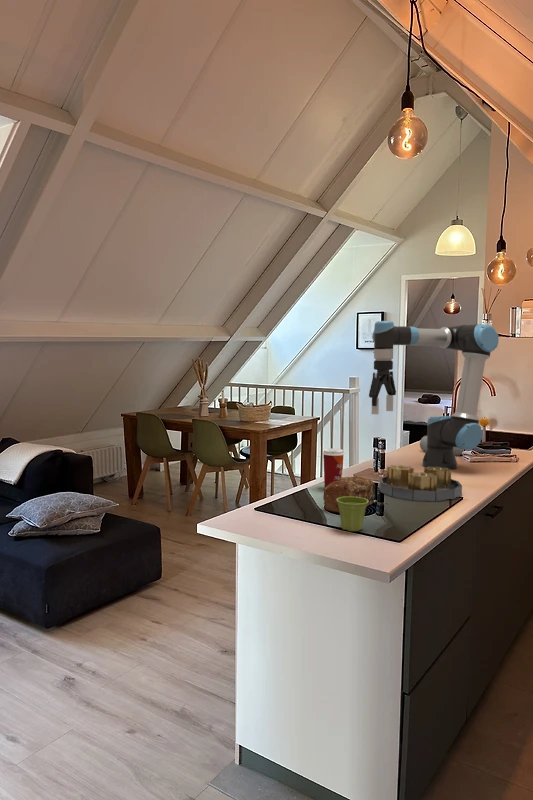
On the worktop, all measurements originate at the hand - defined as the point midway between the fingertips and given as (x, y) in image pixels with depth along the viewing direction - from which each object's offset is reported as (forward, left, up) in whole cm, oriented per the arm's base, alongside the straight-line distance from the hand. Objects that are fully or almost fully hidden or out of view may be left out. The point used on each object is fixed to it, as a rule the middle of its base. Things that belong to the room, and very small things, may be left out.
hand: (382, 412), depth 247 cm
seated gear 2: (+2, +25, -26) cm, 36 cm away
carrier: (+9, +21, -28) cm, 35 cm away
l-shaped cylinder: (-76, -5, -28) cm, 81 cm away
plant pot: (+67, +25, -28) cm, 76 cm away
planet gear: (+9, +13, -26) cm, 30 cm away
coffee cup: (+27, -6, -28) cm, 39 cm away
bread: (+45, +11, -28) cm, 55 cm away
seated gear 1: (+16, +25, -26) cm, 39 cm away
